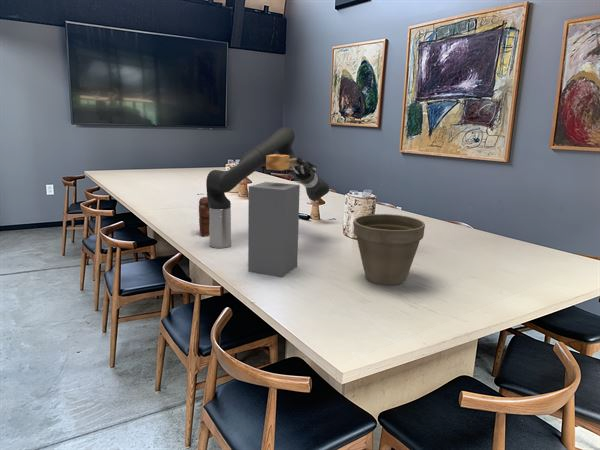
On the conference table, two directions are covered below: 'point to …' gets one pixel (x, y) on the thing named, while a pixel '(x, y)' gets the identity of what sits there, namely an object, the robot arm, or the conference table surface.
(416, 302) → the conference table surface
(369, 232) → the plant pot
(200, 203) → the wooden figurine
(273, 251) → the pedestal
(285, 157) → the mallet
